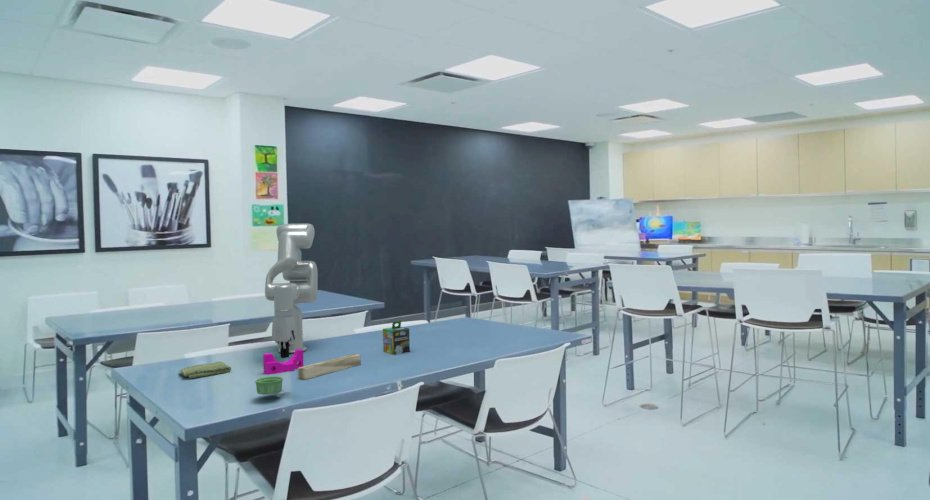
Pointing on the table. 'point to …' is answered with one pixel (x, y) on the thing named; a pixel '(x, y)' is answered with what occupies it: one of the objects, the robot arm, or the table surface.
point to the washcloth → (205, 369)
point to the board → (328, 366)
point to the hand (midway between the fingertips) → (284, 357)
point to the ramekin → (269, 385)
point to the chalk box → (396, 339)
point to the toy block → (276, 367)
